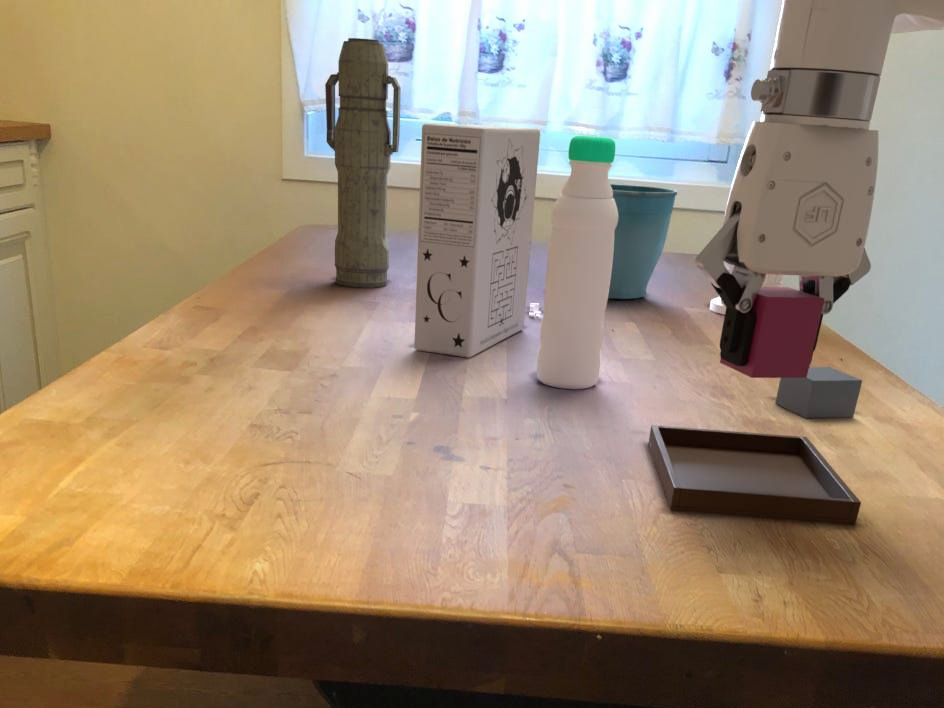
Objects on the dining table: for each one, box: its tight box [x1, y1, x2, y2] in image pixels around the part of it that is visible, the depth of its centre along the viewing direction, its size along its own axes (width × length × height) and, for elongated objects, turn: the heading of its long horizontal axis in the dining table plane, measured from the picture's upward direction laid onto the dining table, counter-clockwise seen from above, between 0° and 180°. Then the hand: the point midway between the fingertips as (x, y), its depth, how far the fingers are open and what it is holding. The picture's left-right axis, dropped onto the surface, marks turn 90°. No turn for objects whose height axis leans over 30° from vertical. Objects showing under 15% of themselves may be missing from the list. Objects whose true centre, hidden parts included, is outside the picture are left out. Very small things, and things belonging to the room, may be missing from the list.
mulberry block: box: [719, 286, 825, 379], centre depth 77 cm, size 5×5×6 cm
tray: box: [647, 424, 862, 526], centre depth 83 cm, size 14×17×2 cm
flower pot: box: [608, 183, 678, 300], centre depth 166 cm, size 18×18×17 cm
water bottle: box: [536, 135, 618, 390], centre depth 106 cm, size 7×7×25 cm
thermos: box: [324, 37, 402, 289], centre depth 156 cm, size 9×12×35 cm
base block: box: [775, 366, 863, 419], centre depth 107 cm, size 6×6×4 cm
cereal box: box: [414, 123, 541, 359], centre depth 124 cm, size 22×8×25 cm, turn 159°
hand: (764, 359), depth 78 cm, fingers closed on mulberry block, 5 cm apart
